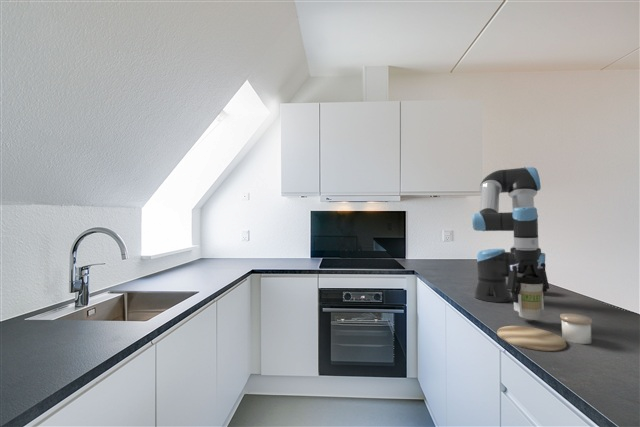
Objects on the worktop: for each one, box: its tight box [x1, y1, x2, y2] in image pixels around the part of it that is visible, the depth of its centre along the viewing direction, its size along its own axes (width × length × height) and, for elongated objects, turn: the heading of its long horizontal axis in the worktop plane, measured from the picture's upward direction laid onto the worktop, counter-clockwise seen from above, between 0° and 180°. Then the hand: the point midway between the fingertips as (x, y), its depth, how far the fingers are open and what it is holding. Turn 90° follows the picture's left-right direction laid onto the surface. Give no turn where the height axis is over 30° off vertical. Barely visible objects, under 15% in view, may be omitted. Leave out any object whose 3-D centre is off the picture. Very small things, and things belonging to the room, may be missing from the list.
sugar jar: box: [559, 313, 593, 345], centre depth 93 cm, size 8×8×7 cm
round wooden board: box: [496, 325, 567, 352], centre depth 95 cm, size 18×18×1 cm
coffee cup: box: [515, 274, 544, 320], centre depth 109 cm, size 10×10×15 cm
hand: (528, 309), depth 109 cm, fingers closed on coffee cup, 9 cm apart
